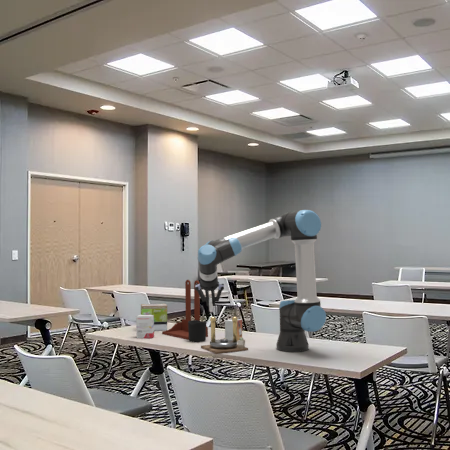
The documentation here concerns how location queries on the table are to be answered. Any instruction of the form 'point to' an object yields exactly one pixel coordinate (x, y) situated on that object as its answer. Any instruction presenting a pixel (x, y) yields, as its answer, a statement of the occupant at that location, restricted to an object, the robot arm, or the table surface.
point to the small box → (230, 329)
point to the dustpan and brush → (187, 314)
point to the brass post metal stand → (224, 342)
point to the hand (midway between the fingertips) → (211, 309)
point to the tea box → (156, 315)
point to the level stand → (227, 350)
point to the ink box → (145, 326)
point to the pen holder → (197, 331)
